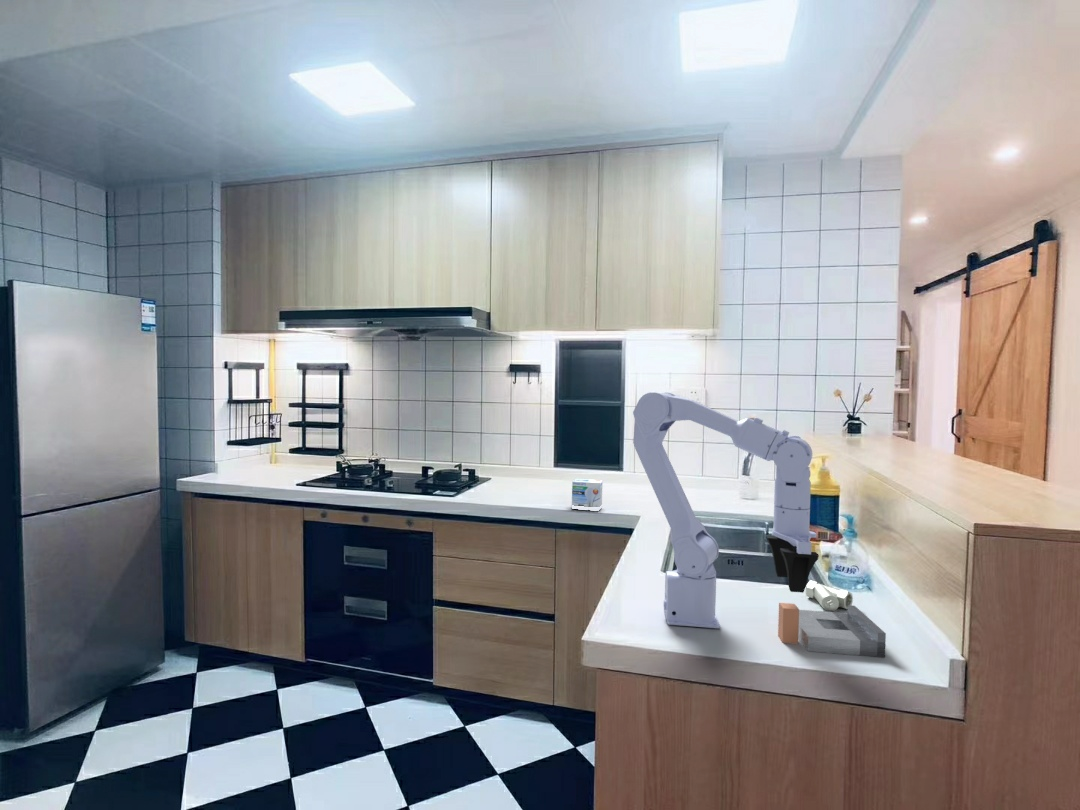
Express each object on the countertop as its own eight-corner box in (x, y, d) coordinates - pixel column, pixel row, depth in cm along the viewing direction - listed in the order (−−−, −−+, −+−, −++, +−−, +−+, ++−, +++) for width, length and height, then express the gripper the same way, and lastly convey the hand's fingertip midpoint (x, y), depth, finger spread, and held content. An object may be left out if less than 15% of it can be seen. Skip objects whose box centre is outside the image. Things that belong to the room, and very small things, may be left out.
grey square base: (807, 651, 92) (808, 627, 92) (786, 621, 104) (786, 600, 104) (885, 657, 90) (885, 633, 90) (853, 627, 102) (854, 605, 102)
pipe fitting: (836, 617, 108) (852, 608, 112) (835, 598, 108) (852, 589, 111) (797, 604, 114) (814, 595, 118) (796, 586, 114) (814, 578, 118)
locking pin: (782, 642, 95) (783, 608, 95) (778, 636, 98) (779, 602, 97) (798, 643, 95) (799, 609, 94) (793, 637, 97) (794, 603, 97)
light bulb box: (571, 510, 201) (571, 480, 201) (574, 506, 207) (574, 478, 207) (600, 512, 198) (600, 482, 198) (602, 508, 205) (602, 479, 205)
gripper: (832, 516, 88) (829, 600, 88) (802, 499, 102) (800, 572, 103) (785, 514, 89) (783, 597, 89) (762, 497, 103) (760, 569, 104)
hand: (789, 583), depth 96 cm, fingers open, 7 cm apart
